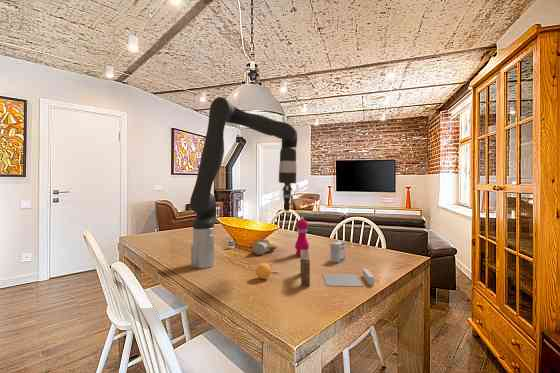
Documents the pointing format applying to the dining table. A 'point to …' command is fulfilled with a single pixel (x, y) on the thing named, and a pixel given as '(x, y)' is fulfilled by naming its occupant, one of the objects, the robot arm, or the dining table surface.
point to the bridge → (305, 268)
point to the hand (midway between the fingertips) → (286, 209)
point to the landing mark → (342, 280)
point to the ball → (263, 271)
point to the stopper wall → (368, 277)
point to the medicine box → (337, 251)
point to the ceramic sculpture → (262, 247)
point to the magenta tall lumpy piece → (301, 236)
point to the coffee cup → (231, 244)
